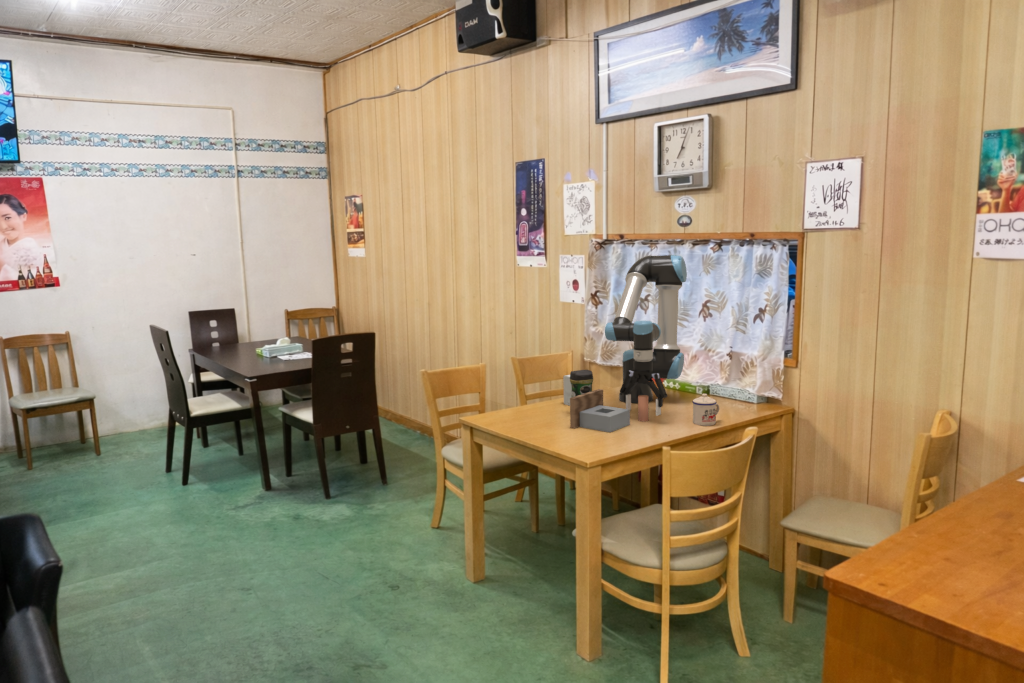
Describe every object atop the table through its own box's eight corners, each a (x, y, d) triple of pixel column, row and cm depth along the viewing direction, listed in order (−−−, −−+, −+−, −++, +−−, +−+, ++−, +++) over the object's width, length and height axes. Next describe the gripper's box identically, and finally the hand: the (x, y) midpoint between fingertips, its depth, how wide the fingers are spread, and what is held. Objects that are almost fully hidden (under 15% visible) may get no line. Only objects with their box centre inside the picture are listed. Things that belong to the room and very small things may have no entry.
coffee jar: (588, 410, 307) (587, 367, 304) (596, 414, 300) (596, 370, 297) (567, 412, 304) (566, 369, 301) (575, 417, 296) (574, 372, 294)
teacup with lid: (703, 427, 274) (703, 397, 273) (687, 422, 282) (687, 393, 281) (727, 423, 280) (727, 393, 278) (710, 418, 288) (710, 389, 286)
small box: (572, 406, 315) (571, 377, 313) (563, 404, 320) (562, 375, 319) (586, 403, 319) (586, 375, 318) (577, 401, 325) (577, 373, 323)
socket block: (599, 419, 290) (599, 405, 289) (629, 424, 281) (629, 409, 280) (579, 427, 279) (579, 411, 279) (610, 432, 270) (610, 416, 270)
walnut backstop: (599, 417, 294) (599, 389, 292) (603, 418, 292) (603, 389, 291) (570, 428, 279) (569, 398, 277) (574, 429, 277) (574, 398, 276)
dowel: (641, 418, 290) (641, 394, 289) (650, 420, 287) (650, 395, 286) (636, 421, 287) (636, 396, 286) (645, 422, 284) (645, 397, 283)
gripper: (611, 358, 289) (611, 410, 292) (666, 364, 273) (666, 418, 276) (621, 356, 295) (621, 407, 297) (676, 361, 279) (676, 415, 281)
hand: (643, 412), depth 287 cm, fingers open, 13 cm apart
